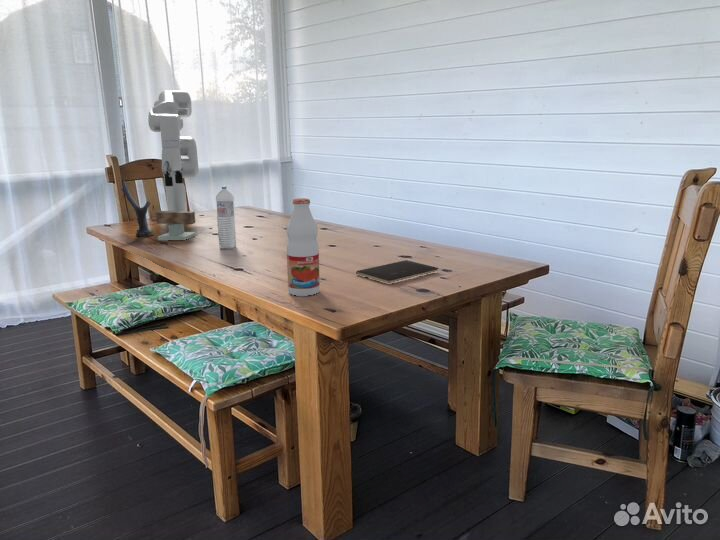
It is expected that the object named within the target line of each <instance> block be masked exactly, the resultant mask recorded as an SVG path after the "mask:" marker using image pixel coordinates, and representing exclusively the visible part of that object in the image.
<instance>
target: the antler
mask: <svg viewBox="0 0 720 540" xmlns="http://www.w3.org/2000/svg"><path fill="white" fill-rule="evenodd" d="M120 189H121V191H122V192H123V194H124V195H125V197H126V199H127V201H128V202H129V203H130V205H131V207H132V208H133V209H134V212H135V215H136V217H137V220H136V221H137V225H138V229H136V234H135V235H136V236H135V237H137V236H140V237H139V238H142V237H141V236H146V237H150V236H153V235H154V233H153V230H150V229H149V225H148V221H147V213H148V209H149V207H150V206H151V204H152V203H151V202H150V201H146V203H145V204H144V205H143V206H142V207H140V206H139V205H138V203H137V202H136V200H135V199H134V197H133V196H132V194H131V192H130V190H129V187H128V185H127V183H126V180H123V182H122V188H120Z"/></svg>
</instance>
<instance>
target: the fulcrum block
mask: <svg viewBox="0 0 720 540" xmlns="http://www.w3.org/2000/svg"><path fill="white" fill-rule="evenodd" d="M167 225H168V227H167V228H168V232H166V233H164V234H161V235H158V236H157V241H168V240H185V241H187V240H189V239H191V237H192V238H194V237H196V236H195V235H197V233H196V231H195V232H194V231H192V232H191V231H185V224H167ZM193 236H194V237H193ZM188 238H189V239H188ZM186 239H187V240H186Z"/></svg>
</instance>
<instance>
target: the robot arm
mask: <svg viewBox="0 0 720 540" xmlns="http://www.w3.org/2000/svg"><path fill="white" fill-rule="evenodd" d="M157 99H158V100H155V101H154V103H153V107H151V108H150V109H149V111H148V119H147V120H148V123H147V124H148V127H149V129H150V131H152V132H154V133H160V140H161V141H160V142H161V148H162V149H161V172H162V174H163V179H164V185H165V196H166V208H167V209H166V211H188V205H187V204H188V202H187V192H186V186H185V184H184V179H189V178H191V179H192V178H197V177H198V175H199V171H200V170H199V169H200V168H199V160H198V159H199V158H198V157H199V156H198V149H197V148H198V146H197V142H196V140H195V138H194V137H192V136H182V135H181V130H182V129H183V128H184V120H183V118H189V117H190V116H191V115H192V111H193V110H192V98H191V95H190V93H189V92H187V91H186V90H174V89H173V90H171V89H170V90H163V91H161V92H160V93H159V94H158V98H157ZM182 157H187V158H182Z"/></svg>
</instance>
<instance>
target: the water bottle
mask: <svg viewBox="0 0 720 540" xmlns="http://www.w3.org/2000/svg"><path fill="white" fill-rule="evenodd" d="M234 198H235V197H234V195H233V194H232V193H231V192H230V191H229V190H227V185H222V186H221V190H220V191H219V192H218V193H217V195H216V196H215V201H216V202H215V203H216V215H217V217H216V218H217V220H216V221H217V233H218V247H219V249H220V250H222V249H231V250H235V249H236V248H237V236H236V235H237V233H236V219H235V217H236V216H235V208H234V207H235V204H234V201H235V200H234ZM234 248H235V249H234Z"/></svg>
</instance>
